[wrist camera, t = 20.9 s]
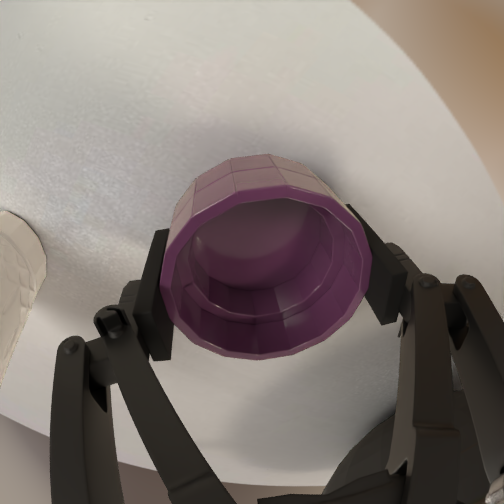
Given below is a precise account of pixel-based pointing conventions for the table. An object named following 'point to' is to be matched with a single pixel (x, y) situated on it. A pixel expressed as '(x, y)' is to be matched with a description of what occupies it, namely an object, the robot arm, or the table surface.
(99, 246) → the table surface
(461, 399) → the bowl
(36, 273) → the white cup
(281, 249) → the plum dish
